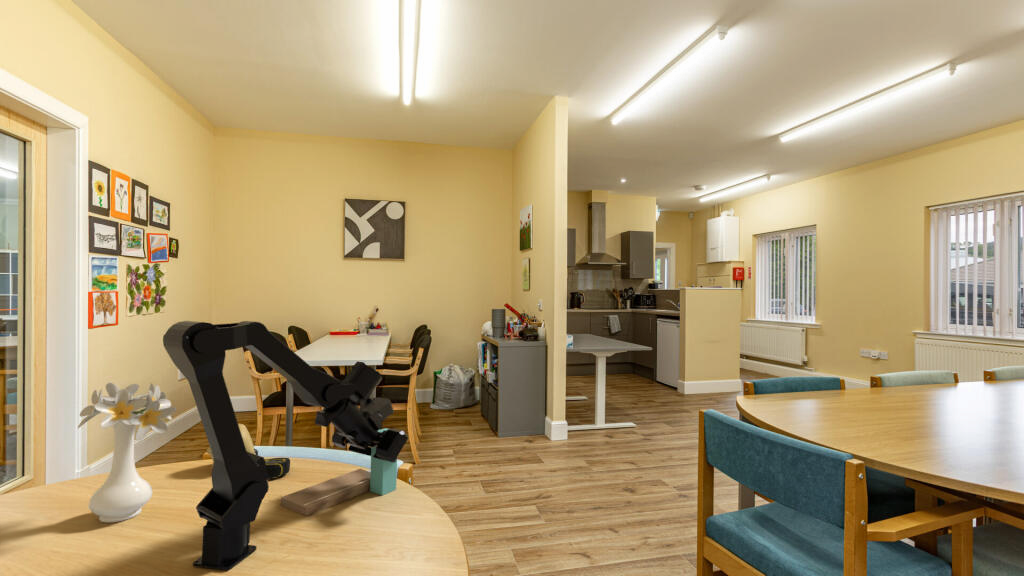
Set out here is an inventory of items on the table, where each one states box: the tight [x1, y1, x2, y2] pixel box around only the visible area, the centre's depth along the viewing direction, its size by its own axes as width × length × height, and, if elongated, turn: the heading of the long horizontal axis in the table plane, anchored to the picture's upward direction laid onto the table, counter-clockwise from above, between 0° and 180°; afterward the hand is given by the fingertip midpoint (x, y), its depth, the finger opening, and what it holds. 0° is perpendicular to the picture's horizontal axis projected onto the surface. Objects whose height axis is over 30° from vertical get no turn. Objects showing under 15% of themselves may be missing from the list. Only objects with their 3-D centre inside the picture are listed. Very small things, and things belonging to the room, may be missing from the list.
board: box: [280, 468, 370, 517], centre depth 100 cm, size 20×9×2 cm, turn 147°
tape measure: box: [264, 457, 291, 479], centre depth 109 cm, size 7×7×4 cm
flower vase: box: [77, 382, 177, 524], centre depth 88 cm, size 13×18×25 cm
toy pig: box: [206, 423, 259, 468], centre depth 115 cm, size 10×12×11 cm
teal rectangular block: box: [365, 427, 398, 496], centre depth 103 cm, size 4×7×13 cm, turn 57°
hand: (388, 458), depth 103 cm, fingers closed on teal rectangular block, 4 cm apart
